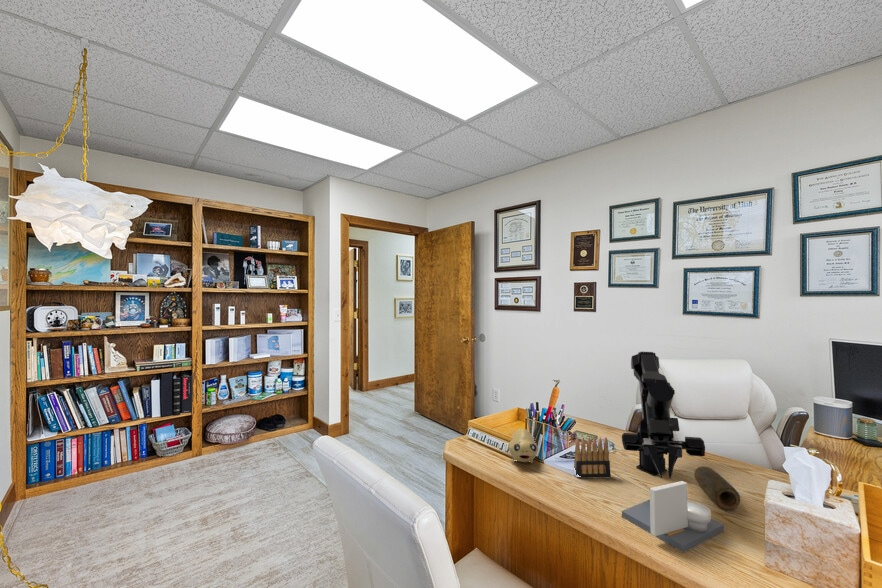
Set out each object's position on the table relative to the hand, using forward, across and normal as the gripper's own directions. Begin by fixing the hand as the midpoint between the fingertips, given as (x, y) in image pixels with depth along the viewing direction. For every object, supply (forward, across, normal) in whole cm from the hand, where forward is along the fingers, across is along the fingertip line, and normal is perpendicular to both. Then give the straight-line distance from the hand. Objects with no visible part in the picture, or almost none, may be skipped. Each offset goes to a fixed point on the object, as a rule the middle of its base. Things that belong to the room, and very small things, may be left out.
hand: (665, 477), depth 94 cm
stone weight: (-2, +12, +20) cm, 23 cm away
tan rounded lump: (-5, -41, +15) cm, 44 cm away
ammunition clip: (-3, -20, +16) cm, 26 cm away
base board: (+9, 0, +4) cm, 10 cm away
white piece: (+11, +1, -1) cm, 11 cm away
